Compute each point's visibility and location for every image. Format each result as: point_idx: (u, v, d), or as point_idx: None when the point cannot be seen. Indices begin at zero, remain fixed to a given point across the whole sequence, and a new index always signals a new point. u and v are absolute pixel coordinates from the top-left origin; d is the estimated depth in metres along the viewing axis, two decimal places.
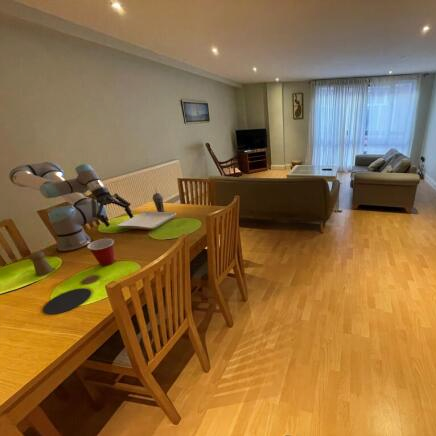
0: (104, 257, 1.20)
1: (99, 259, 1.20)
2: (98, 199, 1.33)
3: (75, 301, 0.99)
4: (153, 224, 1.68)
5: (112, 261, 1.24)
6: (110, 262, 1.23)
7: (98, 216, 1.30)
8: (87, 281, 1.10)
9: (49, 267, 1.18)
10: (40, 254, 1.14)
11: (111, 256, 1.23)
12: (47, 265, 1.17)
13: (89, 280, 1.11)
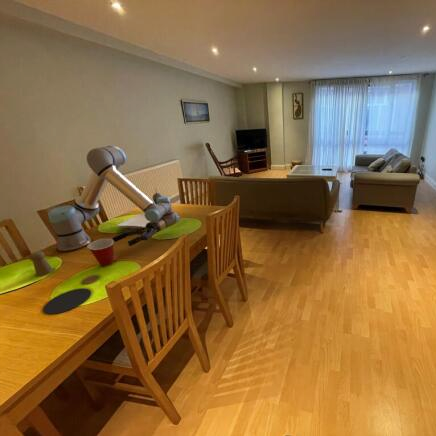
0: (104, 257, 1.20)
1: (99, 259, 1.20)
2: None
3: (75, 301, 0.99)
4: None
5: (112, 261, 1.24)
6: (110, 262, 1.23)
7: (142, 239, 1.32)
8: (87, 281, 1.10)
9: (49, 267, 1.18)
10: (40, 254, 1.14)
11: (111, 256, 1.23)
12: (47, 265, 1.17)
13: (89, 280, 1.11)
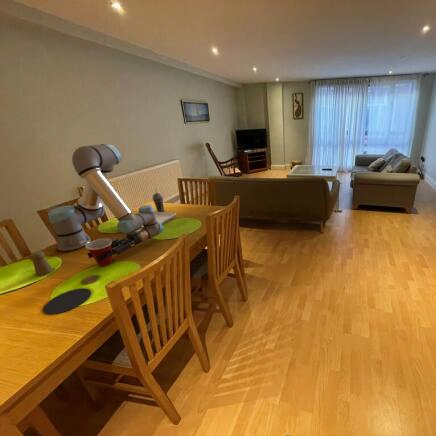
0: None
1: None
2: None
3: (75, 301, 0.99)
4: None
5: (110, 261, 1.24)
6: (108, 262, 1.23)
7: (113, 253, 1.22)
8: (87, 281, 1.10)
9: (49, 267, 1.18)
10: (40, 254, 1.14)
11: (109, 256, 1.23)
12: (47, 265, 1.17)
13: (89, 280, 1.11)
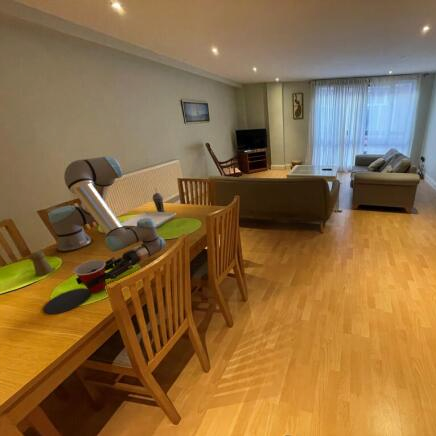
0: None
1: None
2: None
3: (75, 301, 0.99)
4: None
5: (104, 286, 1.05)
6: (101, 288, 1.04)
7: (107, 278, 1.02)
8: None
9: (49, 267, 1.18)
10: (40, 254, 1.14)
11: None
12: (47, 265, 1.17)
13: None
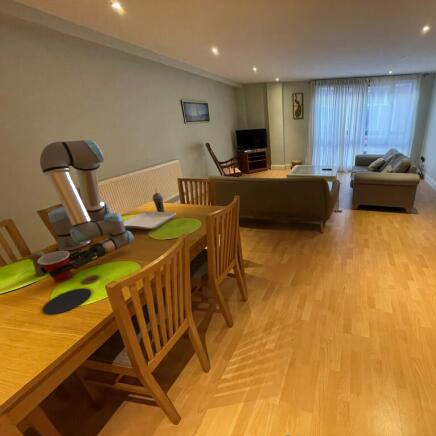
0: None
1: None
2: None
3: (75, 301, 0.99)
4: (153, 224, 1.68)
5: (68, 276, 1.12)
6: (65, 277, 1.11)
7: (70, 268, 1.10)
8: (87, 281, 1.10)
9: None
10: (40, 254, 1.14)
11: None
12: None
13: (89, 280, 1.11)
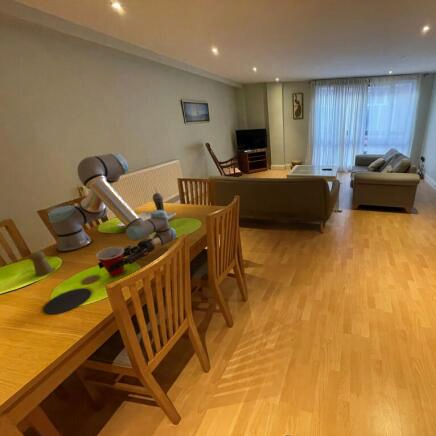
0: None
1: None
2: None
3: (75, 301, 0.99)
4: None
5: (122, 271, 1.15)
6: (120, 272, 1.14)
7: (125, 263, 1.13)
8: (87, 281, 1.10)
9: (49, 267, 1.18)
10: (40, 254, 1.14)
11: (121, 266, 1.14)
12: (47, 265, 1.17)
13: (89, 280, 1.11)
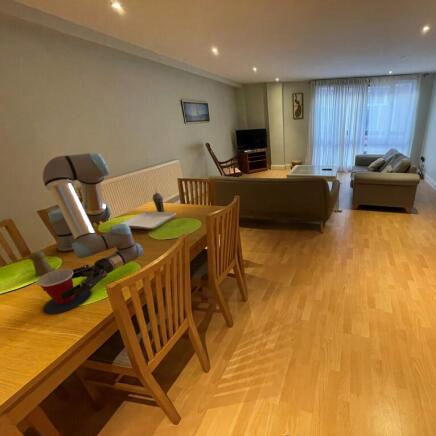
0: None
1: (53, 297, 0.94)
2: None
3: (75, 301, 0.99)
4: (153, 224, 1.68)
5: (71, 297, 0.99)
6: (68, 299, 0.98)
7: (83, 288, 0.96)
8: None
9: (49, 267, 1.18)
10: (40, 254, 1.14)
11: None
12: (47, 265, 1.17)
13: None
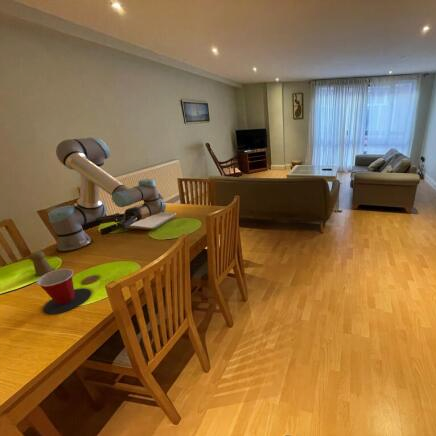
0: (60, 294, 0.95)
1: (53, 297, 0.94)
2: None
3: (75, 301, 0.99)
4: (153, 224, 1.68)
5: (71, 297, 0.99)
6: (68, 299, 0.98)
7: (119, 228, 1.09)
8: (87, 281, 1.10)
9: (49, 267, 1.18)
10: (40, 254, 1.14)
11: (69, 292, 0.97)
12: (47, 265, 1.17)
13: (89, 280, 1.11)
